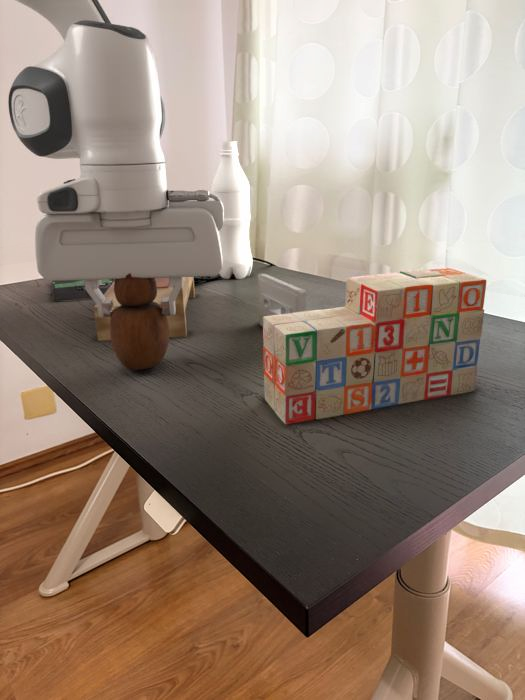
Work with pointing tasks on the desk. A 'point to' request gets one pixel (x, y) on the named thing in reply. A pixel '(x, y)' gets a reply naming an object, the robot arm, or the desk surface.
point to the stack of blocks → (376, 345)
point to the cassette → (278, 297)
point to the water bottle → (233, 213)
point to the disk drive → (75, 289)
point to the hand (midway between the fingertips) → (137, 315)
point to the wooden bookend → (163, 291)
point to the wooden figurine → (138, 324)
